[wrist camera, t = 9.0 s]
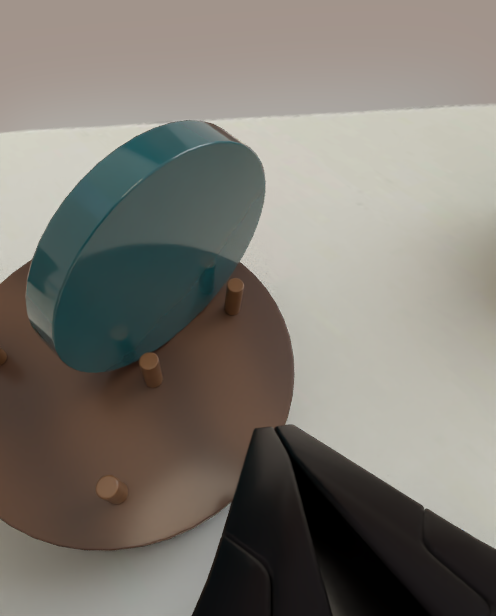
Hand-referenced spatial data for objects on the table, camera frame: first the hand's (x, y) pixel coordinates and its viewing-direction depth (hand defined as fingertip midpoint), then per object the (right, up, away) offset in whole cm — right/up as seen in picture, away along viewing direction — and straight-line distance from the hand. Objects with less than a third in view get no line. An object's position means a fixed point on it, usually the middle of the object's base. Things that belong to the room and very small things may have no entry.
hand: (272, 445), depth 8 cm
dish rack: (-5, 0, +9) cm, 11 cm away
